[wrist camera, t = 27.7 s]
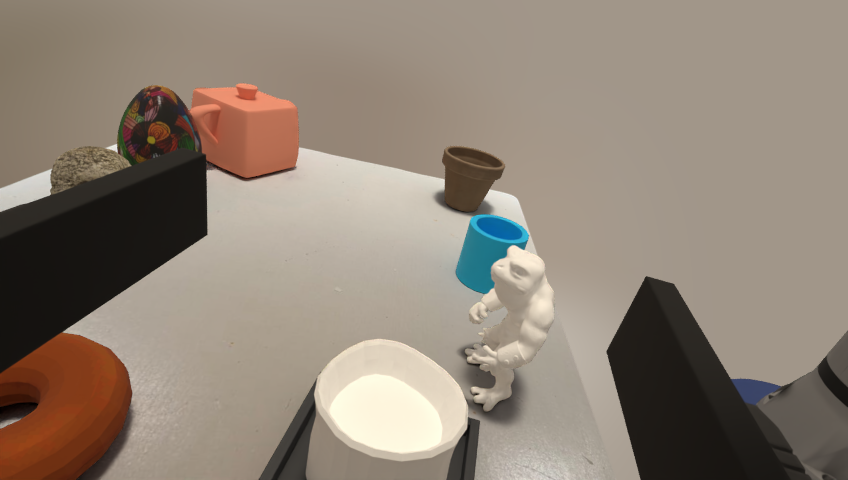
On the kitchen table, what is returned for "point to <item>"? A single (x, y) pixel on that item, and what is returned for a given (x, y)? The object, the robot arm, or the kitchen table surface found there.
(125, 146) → the egg
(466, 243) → the mug
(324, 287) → the kitchen table surface
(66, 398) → the donut
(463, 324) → the kitchen table surface
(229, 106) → the teapot
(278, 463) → the tray
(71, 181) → the stone
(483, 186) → the flower pot
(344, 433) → the cup
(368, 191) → the kitchen table surface
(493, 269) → the figurine
